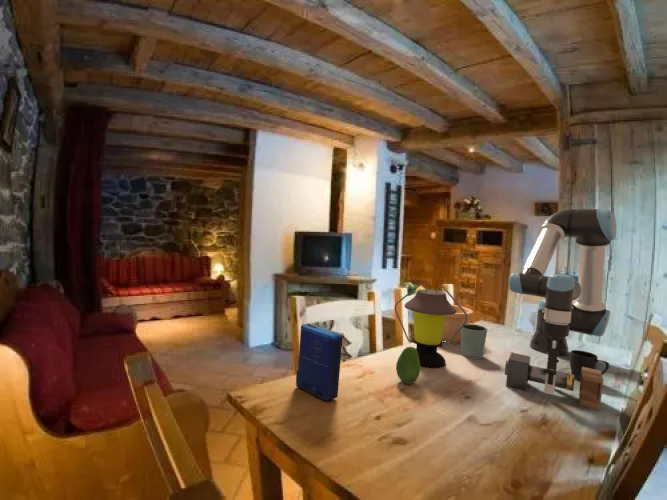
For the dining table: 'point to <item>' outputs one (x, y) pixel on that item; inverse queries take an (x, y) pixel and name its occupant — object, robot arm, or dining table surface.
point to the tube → (539, 376)
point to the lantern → (429, 324)
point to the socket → (590, 388)
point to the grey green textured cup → (473, 340)
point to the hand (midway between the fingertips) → (549, 387)
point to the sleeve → (518, 371)
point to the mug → (583, 362)
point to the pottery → (455, 324)
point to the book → (319, 361)
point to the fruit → (408, 365)
